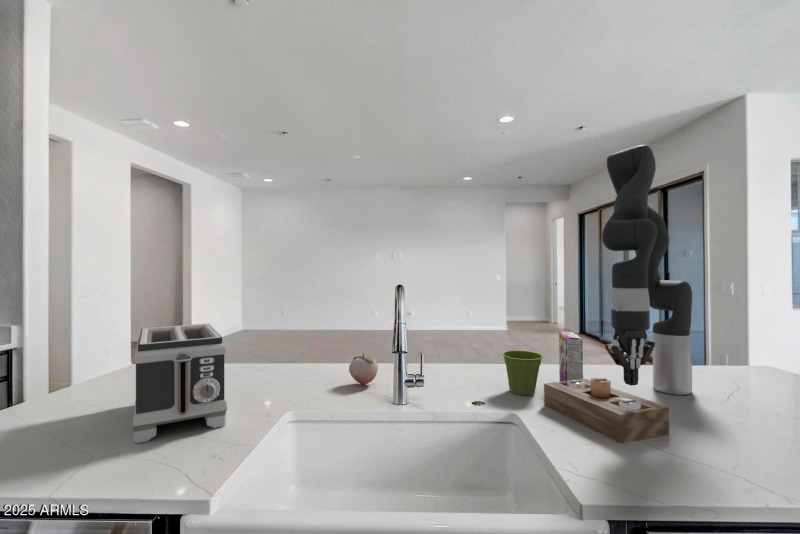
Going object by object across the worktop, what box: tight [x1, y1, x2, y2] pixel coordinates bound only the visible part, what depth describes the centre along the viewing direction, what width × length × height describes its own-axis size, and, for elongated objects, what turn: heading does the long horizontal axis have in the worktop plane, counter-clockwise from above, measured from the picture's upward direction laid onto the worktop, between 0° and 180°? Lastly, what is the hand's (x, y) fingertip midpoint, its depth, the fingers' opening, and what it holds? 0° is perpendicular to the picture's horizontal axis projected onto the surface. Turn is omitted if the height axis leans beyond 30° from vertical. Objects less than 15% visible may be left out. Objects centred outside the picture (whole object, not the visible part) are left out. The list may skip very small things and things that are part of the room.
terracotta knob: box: [590, 377, 612, 398], centre depth 96 cm, size 4×4×4 cm
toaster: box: [132, 323, 228, 444], centre depth 97 cm, size 18×34×21 cm, turn 32°
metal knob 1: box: [567, 380, 585, 390], centre depth 103 cm, size 4×4×4 cm
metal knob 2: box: [618, 399, 641, 411], centre depth 88 cm, size 4×4×4 cm
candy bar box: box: [558, 331, 584, 382], centre depth 121 cm, size 11×5×16 cm, turn 168°
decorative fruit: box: [348, 353, 379, 386], centre depth 124 cm, size 9×8×10 cm
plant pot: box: [501, 349, 544, 396], centre depth 117 cm, size 12×12×11 cm
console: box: [543, 378, 670, 444], centre depth 96 cm, size 14×24×6 cm, turn 19°
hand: (631, 384), depth 88 cm, fingers closed
